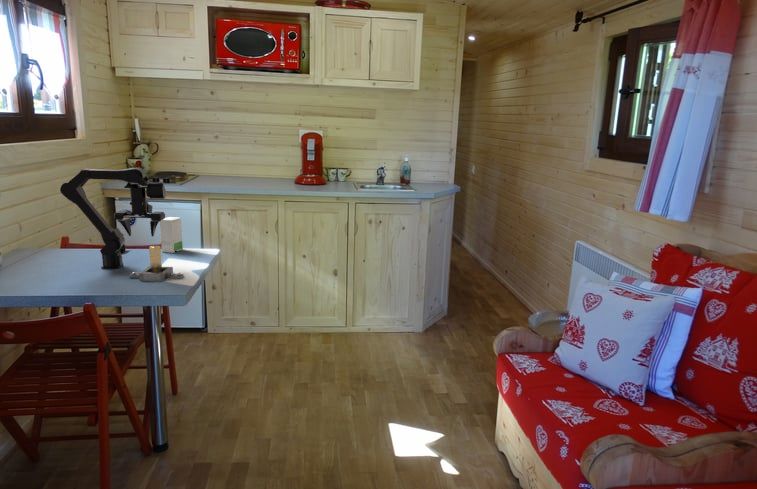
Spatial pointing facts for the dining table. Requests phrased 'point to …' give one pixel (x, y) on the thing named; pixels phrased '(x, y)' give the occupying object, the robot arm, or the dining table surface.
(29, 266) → the dining table surface
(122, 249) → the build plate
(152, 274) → the chain joint
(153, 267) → the tan wooden block
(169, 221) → the skincare box
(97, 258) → the dining table surface
